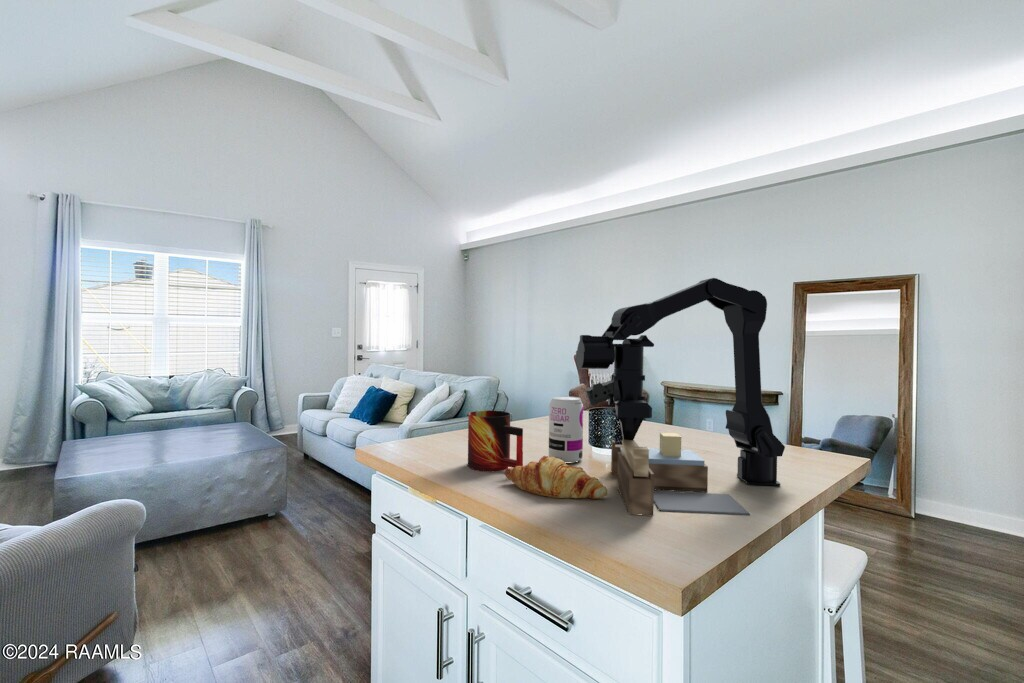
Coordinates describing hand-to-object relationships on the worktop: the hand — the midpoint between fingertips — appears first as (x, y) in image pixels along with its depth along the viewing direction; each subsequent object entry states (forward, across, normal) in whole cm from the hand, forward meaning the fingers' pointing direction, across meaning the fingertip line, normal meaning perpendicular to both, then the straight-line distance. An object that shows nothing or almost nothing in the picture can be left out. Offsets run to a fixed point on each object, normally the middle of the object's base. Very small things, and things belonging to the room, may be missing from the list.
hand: (627, 446), depth 97 cm
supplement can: (+8, -18, -12) cm, 23 cm away
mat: (+8, +9, +11) cm, 16 cm away
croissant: (+8, +6, -15) cm, 18 cm away
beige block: (+1, +9, 0) cm, 9 cm away
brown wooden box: (+8, +3, +7) cm, 11 cm away
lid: (+3, -2, +7) cm, 8 cm away
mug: (+8, -10, -28) cm, 30 cm away
